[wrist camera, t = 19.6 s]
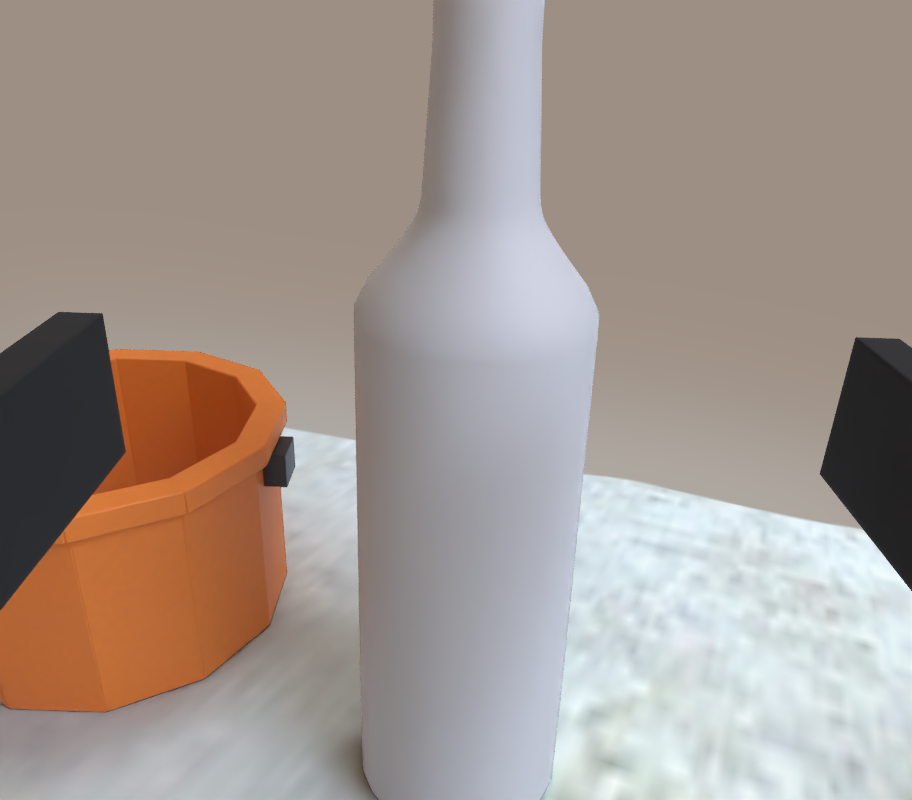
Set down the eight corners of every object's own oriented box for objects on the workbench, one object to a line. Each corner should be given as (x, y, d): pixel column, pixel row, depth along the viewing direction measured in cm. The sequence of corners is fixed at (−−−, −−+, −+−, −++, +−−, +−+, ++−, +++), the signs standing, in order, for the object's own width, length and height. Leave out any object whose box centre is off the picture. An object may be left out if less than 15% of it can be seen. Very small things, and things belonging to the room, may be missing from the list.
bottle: (594, 773, 27) (752, -293, 15) (427, 878, 23) (454, -402, 11) (480, 654, 32) (527, -219, 20) (328, 725, 28) (272, -278, 16)
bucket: (-159, 714, 28) (-243, 510, 24) (35, 500, 40) (0, 344, 37) (261, 727, 28) (240, 526, 24) (325, 509, 40) (318, 355, 37)
